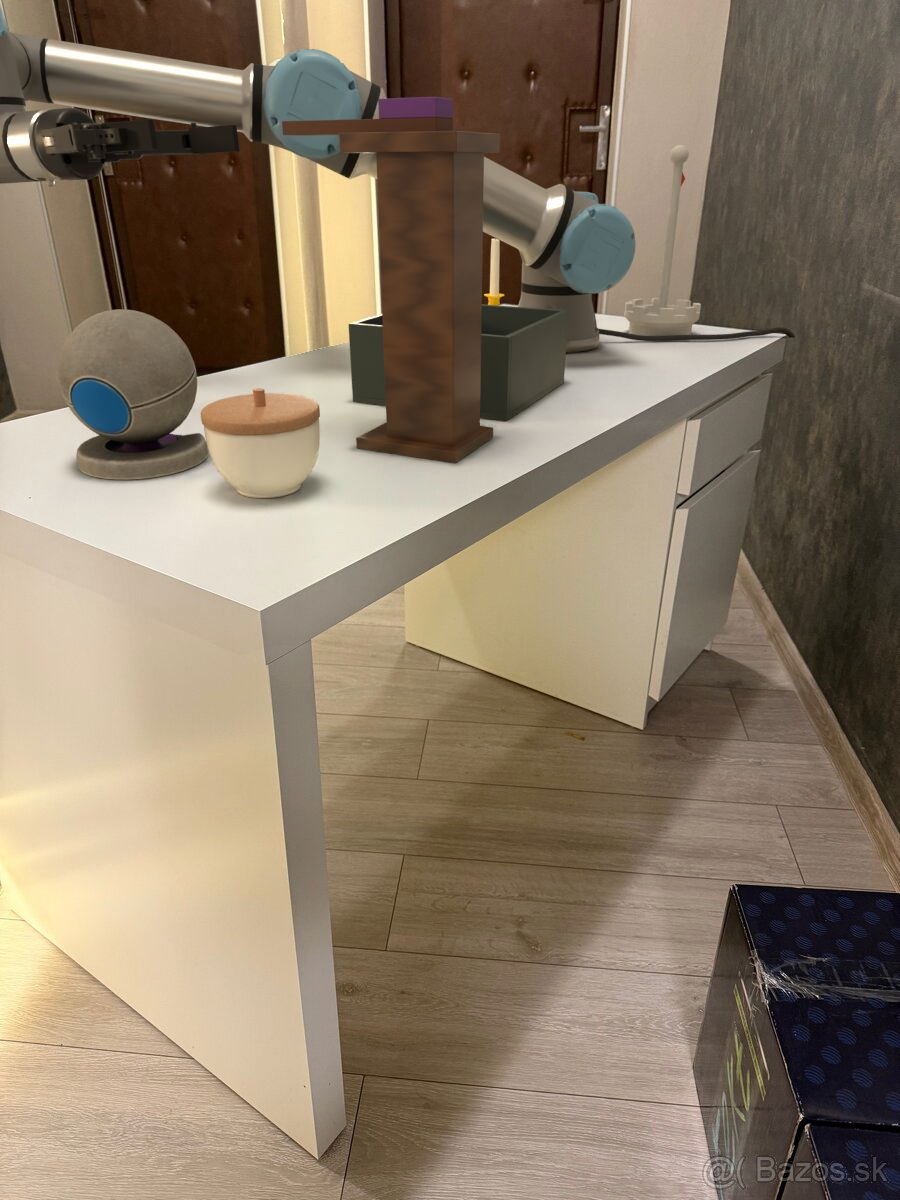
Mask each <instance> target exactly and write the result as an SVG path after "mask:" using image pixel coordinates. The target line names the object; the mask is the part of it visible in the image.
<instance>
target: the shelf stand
mask: <svg viewBox="0 0 900 1200" xmlns="http://www.w3.org/2000/svg"><path fill="white" fill-rule="evenodd" d="M339 143H340V152H341V153H376V162H377V179H376V185H377V206H378V207H377V209H378V210H377V212H378V234H379V235H378V236H379V237H378V238H379V262H380V290H381V314H382V318H383V344H384V371H385V397H386V406H385V418H386V419H385V421H386V422H384V423H381V424H380V425H378V426H376V427H374V428H372V429H370V430H368V431H366V432H365V433H363V434H361V435H359V436H356V437H355V443H356V444H355V445H356V449H361V450H367V451H373V452H379V453H386V454H393V455H400V456H406V457H413V458H420V459H425V460H432V461H438V462H446V463H453V464H457V463H458V462H460V461H461V460H462V459H464V458H465V457H467V456H468V455H470V454H471V453H473V452H475V450H477V449H478V448H480V447H482V446H483V445H484V444H486V443H488V442H489V441H490V440H492V439H493V438H494V427H492V426H485V425H481V418H480V383H481V318H482V303H483V248H484V247H483V246H484V232H483V188H484V157H485V154H499V153H500V152H501V134H500V133H492V132H479V131H478V132H476V131H464V130H463V131H462V130H453V131H424V132H367V133H339Z"/></svg>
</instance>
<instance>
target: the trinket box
mask: <svg viewBox="0 0 900 1200" xmlns="http://www.w3.org/2000/svg"><path fill="white" fill-rule="evenodd" d="M320 409H321V408H320V404H319V403H318V402H317V400H315V399H313V398H310V397H308V396H304V395H299V394H292V393H281V392H280V393H277V392H266V391H265V388H261V387H257V388H253V389H252V393H248V394H241V395H234V396H230V397H224V398H222V399H218V400H216V401H212V402H210V403H207V404H206V405H204V407H203V408H201V411H200V420H201V424H202V426H203V429H204V430H203V431H204V438H205V440H206V443H207V447H208V455H209V457H210V459H211V461H212V464H213V466H214V467H215V469H216V471H217V472H218V474H219V475H220V476H221V477H222V479H223V480H224V481H226V482H227V483H228V484H229V485H231V486H232V487H234V488H235V489H236V492H237V493H238V494H240V495H241V496H244V497H248V498H251V499H253V498H254V499H275V498H281V497H284V496H288V495H291V494H294V493H296V492H297V491H299V490H300V489H301V488H302V483H303V482H305V481H306V479H308V477H309V476H310V475H311V474H312V472H313V470H314V468H315V466H316V464H317V461H318V457H319V452H320V445H321V427H320V426H321V425H320V416H321V410H320Z"/></svg>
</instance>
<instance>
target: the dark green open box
mask: <svg viewBox="0 0 900 1200" xmlns="http://www.w3.org/2000/svg"><path fill="white" fill-rule="evenodd" d="M567 325H568V310H556V309H542V308H527V307H518V306H513V305H500V306H499V305H488V304H482V318H481V383H480V419H486V420H493V421H500V422H501V421H502V422H507V421H509V420H510V419H512V418H514V417H515V416H517V415H518V414H520V413H521V412H523V411H524V410H525V409H527V408H528V407H530V406H531V405H533V404H535V403H536V402H538V401H539V400H540V399H542V398H543V397H545V396H547V395H548V394H549V393H551V392H552V391H554V390H555V389H557V388H559V387H560V386H561V385H563V384H564V383H565V374H566V373H565V371H566V356H567V352H566V341H567ZM348 340H349V341H348V343H349V357H350V360H349V361H350V374H351V375H350V376H351V392H352V393H351V395H352V403H353V402H354V403H359V404H369V405H374V406H375V405H376V406H384V407H386V397H385V371H384V344H383V318H382V313H379V314H377V315H374V316H370V317H367V318H366V317H365V318H362V319H359V320H356V321H353V322H350V323H348Z"/></svg>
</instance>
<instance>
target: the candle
mask: <svg viewBox="0 0 900 1200" xmlns="http://www.w3.org/2000/svg"><path fill="white" fill-rule="evenodd" d="M490 243H491V244H490V267H489V268H490V269H489V272H490V273H489V293H484V294H483V296H484V297H486V298H487V300H488V303H487V305H499V306H501V303H500V300H501V298H502V297H505V294H504V293H500V254H501V253H500V250H501V249H500V247H501V246H500V245H501V244H500V243H501V242H500V240H499V239H497V238H495V237H494V238H491V242H490Z"/></svg>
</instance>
